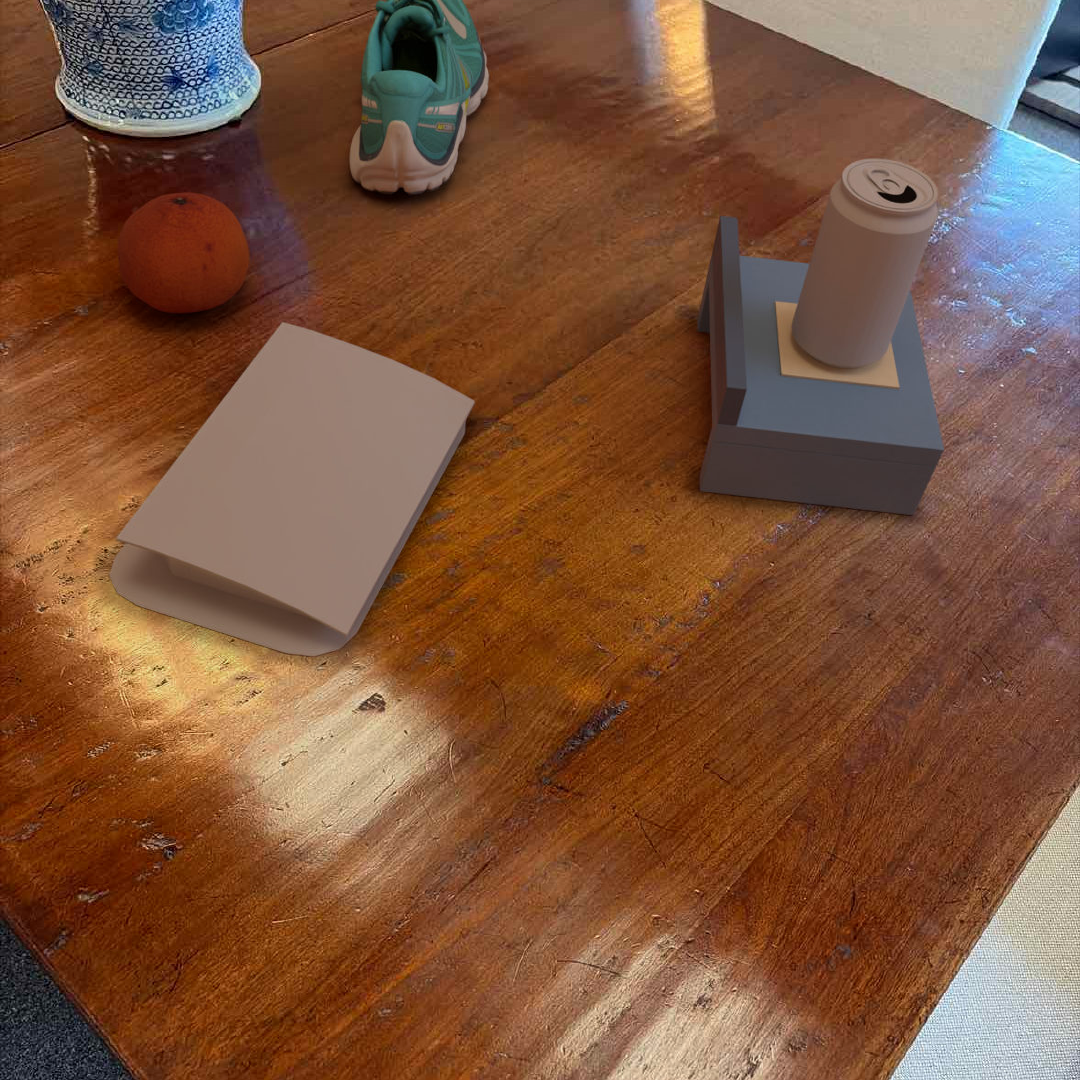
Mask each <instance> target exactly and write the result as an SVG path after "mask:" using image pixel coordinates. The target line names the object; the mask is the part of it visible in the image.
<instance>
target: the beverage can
mask: <svg viewBox="0 0 1080 1080" xmlns="http://www.w3.org/2000/svg"><path fill="white" fill-rule="evenodd" d="M938 198H939V189H938V186H937V185H936V183H935V181H934V180H933V179H932V178H931V177H930V176H929V175H928V174H926V173H925V172H924V171H922V170H920V169H918V168H917V167H914V166H912V165H909V164H907V163H904V162H901V161H897V160H894V159H893V160H892V159H887V158H864V159H859V160H856V161H853V162H852V163H849V164H848V165H847V166H846V167H845V168H844V169H843V171H842V174H841V178H840V179H838V180H837V181H836V182H835V183H834V184H833V185H832V187H831V189H830V192H829V196H828V199H827V203H826V207H825V209H824V213H823V216H822V220H821V223H820V226H819V229H818V233H817V236H816V239H815V244H814V247H813V250H812V253H811V257H810V260H809V262H808V263H809V267H808V270H807V274H806V277H805V280H804V284H803V287H802V291H801V294H800V297H799V301H798V304H797V308H796V311H795V314H794V318H793V321H792V333H793V336H794V338H795V340H796V341H797V343H798V344H799V346H800V347H801V348H802V349H803V350H805V351H806V352H807V353H808V354H809V355H810V356H812V357H813V358H814V359H816V360H818V361H819V362H821V363H824V364H826V365H829V366H832V367H836V368H844V369H853V368H858V367H862V366H865V365H869V364H871V363H874V362H876V361H878V360H879V359H880V358H882V357H883V356H884V354H885V353H886V351H887V350H888V347H889V344H890V342H891V339H892V336H893V334H894V331H895V328H896V326H897V323H898V321H899V318H900V315H901V313H902V310H903V307H904V305H905V302H906V299H907V297H908V294H909V291H911V289H912V286H913V283H914V280H915V278H916V276H917V273H918V270H919V267H920V265H921V262H922V259H923V256H924V254H925V251H926V249H927V246H928V243H929V241H930V238H931V237H932V233H933V230H934V227H935V225H936V222H937V220H938V216H939V214H938V213H939V212H938V206H937V200H938Z"/></svg>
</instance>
